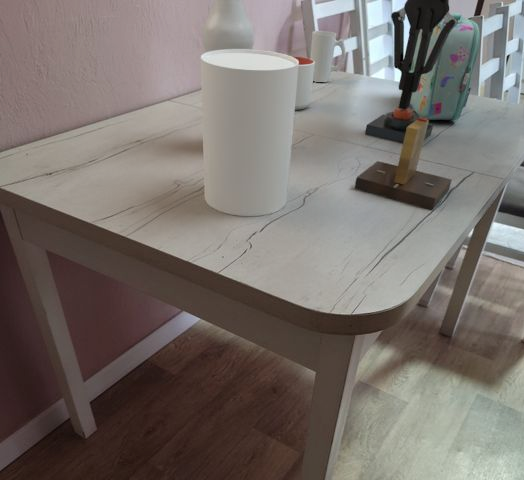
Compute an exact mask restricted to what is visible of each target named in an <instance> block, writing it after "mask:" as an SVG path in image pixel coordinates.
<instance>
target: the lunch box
mask: <svg viewBox="0 0 524 480" xmlns="http://www.w3.org/2000/svg"><path fill="white" fill-rule="evenodd" d="M450 14H451V16H452V17H453V18H454V19H457V20H458V23H457V25H456V26H455V27H454V28H453V29H452V30H451V32H450V33H449V35H448V37H447V39H446V41H445V43H444V46H443V48H442V50H441V52H440V54H439V56H438V58H437V60H436V62H435V64H434V66H433V69H432V70H431V71H430V72H428V73H426V74H422V75H421V78H420V83H419V87H418V90H417V91H416V92H415V93H414V92H412V96H411V101H410V107H411V109H412V110H413V112H415V113H416V114H417V117H418V118H419V117H421V118H426V119H428V120H429V121H453V122H454V121H457V120H459V118H460V117H461V114H462V111H463V110H464V108H465V107H466V106H467V103H468V99H469V96H470V92H471V89H472V87H470V85H471V82H472V78H473V73H474V69H475V65H476V61H477V57H478V53H479V48H480V40H481V38H480V37H481V33H480V28H479V25H478V23H476V22H475V21H474V20H472V19H468V18H465V17H464V16H463V15H462V14H460V13H457V12H455V13H450ZM443 22H444V18H443V19H442V21H441V22H440V23H439V24H438V25H437V26H436V27H435V28H434V29H433V33H432V36H431V39H430V43H429V48H428V52H427V56H426V60H425V64H426V62H427V60H428V58H429V56H430V54H431V51H432V49H433V47H434V45H435V43H436V41H437V38H438V36H439V34H440V32H441V31H442V29H443V27H442V24H443ZM421 35H422V29H421V30H420V33H419V35H418V40H417V44H416V49H415V53H414V57H413V62H412V66H411V68H412V69H411V70H410V72H411V73H413V72H414V68H415V64H416V60H417V55H418V51H419V46H420V42H421V38H422V36H421ZM425 64H424V66H425ZM410 72H409V73H410Z"/></svg>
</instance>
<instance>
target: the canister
mask: <svg viewBox="0 0 524 480" xmlns="http://www.w3.org/2000/svg"><path fill="white" fill-rule="evenodd" d="M291 56H292V55H289V54H286V53H280V52H275V51H269V50H261V49H252V50H251V49H224V50H215V51H210V52H206V53H205V52H203V53H202V54H201V55H200V80H201V81H200V82H201V84H200V85H201V87H200V88H201V113H202V114H201V118H202V151H203V152H202V155H203V183H204V184H203V185H204V188H203V189H204V201H205V202H206V204H207V205H208V206H209V207H211V208H212V209H214V210H216V211H218V212H221V213H223V214H228V215H232V216H237V217H238V216H240V217H260V216H261V217H262V216H266V215H269V214H270V215H271V214H273V213H276V212H279V211H280V210H282V209H283V208H284V207H285V206H286V204H287V202H288V189H289V178H290V167H291V157H292V156H291V155H292V146H293V133H294V120H295V113H296V112H295V111H296V110H295V100H296V89H297V78H298V66H299V61H298V60H297V59H296V58H294V57H291Z"/></svg>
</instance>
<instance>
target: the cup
mask: <svg viewBox="0 0 524 480" xmlns="http://www.w3.org/2000/svg"><path fill="white" fill-rule="evenodd" d="M290 56H291V57H294V58H296V59H297V60H298V61H299V66H298V78H297V89H296V100H295V111H299V110H304V109H306V108H308V107H309V106H310V104H311V101H312V94H313V93H312V92H313V83H314V82H313V75H314V65H315V62H314V61H313V60H311V59H310V58H308V57H302V56H295V55H290Z"/></svg>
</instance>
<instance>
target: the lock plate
mask: <svg viewBox="0 0 524 480" xmlns="http://www.w3.org/2000/svg"><path fill="white" fill-rule="evenodd" d="M397 168H398V165H397V164H391V163H388V162H384V161H380V160H377V161H376V162H374V163H373V164H372V165H370V166H369V167H368V168H367V169H365V170H364V171H363V172H362V173H360V174H359V175H357V177H355V182H354V183H355V184H354V189H355V190H359V191H361V192H366V193H370V194H373V195H376V196H380V197H384V198H388V199H391V200H395V201H398V202H402V203H404V204H405V203H406V204H409V205H412V206H416V207H420V208H423V209H428V210H431V211H433V210H434V209H435V207H436V206H437V205H438V204H439V203H440V201H441V200H442V199H443V198H444V197H445V195H446V194H447V193H448V192H449V191H450V187H451V185H452V181H453V180H452V179H451V178H447V177H444V176H439V175H435V174H432V173H427V172H424V171H420V170H416V172H415V175H414V176H413V177H411V178H410V179H409V180H408V181H407V182H406V183H405V184H404V185H403V184H399V183H395V182H394V180H395V176H396V172H397Z"/></svg>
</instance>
